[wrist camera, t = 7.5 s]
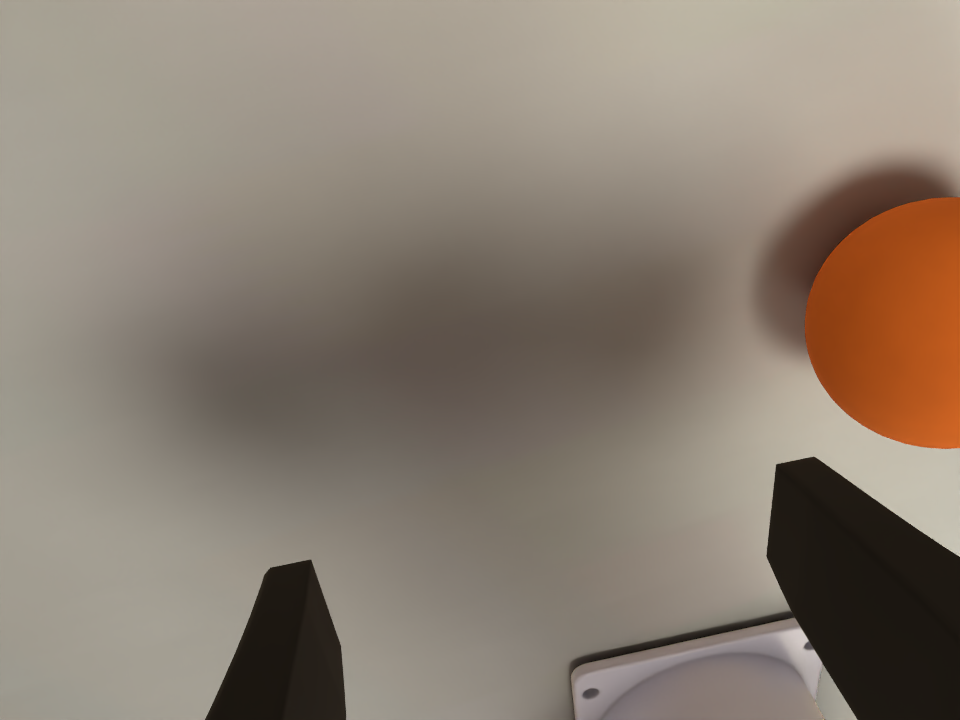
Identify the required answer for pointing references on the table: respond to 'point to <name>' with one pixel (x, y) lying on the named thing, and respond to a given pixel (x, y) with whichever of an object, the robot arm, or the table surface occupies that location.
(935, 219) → the ball
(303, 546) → the table surface
